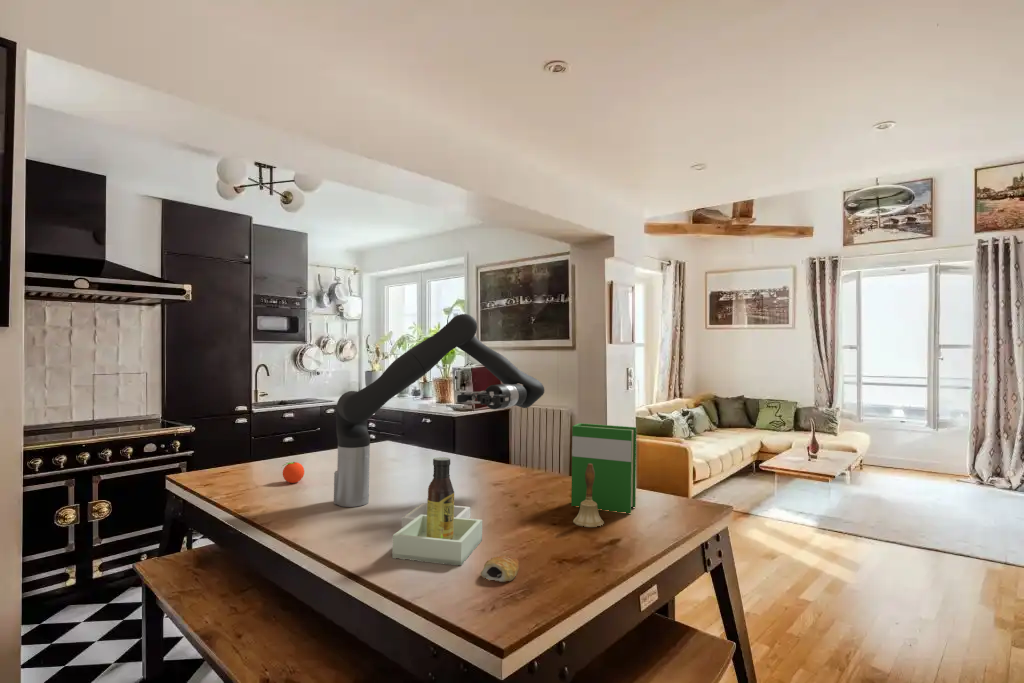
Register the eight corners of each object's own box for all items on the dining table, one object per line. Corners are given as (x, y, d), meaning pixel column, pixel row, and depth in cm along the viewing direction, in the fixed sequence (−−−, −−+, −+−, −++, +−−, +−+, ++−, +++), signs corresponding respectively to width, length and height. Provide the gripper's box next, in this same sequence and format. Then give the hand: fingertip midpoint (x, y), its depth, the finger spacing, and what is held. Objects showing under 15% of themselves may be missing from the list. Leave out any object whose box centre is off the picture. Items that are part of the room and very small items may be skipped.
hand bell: (585, 516, 153) (586, 459, 153) (610, 523, 147) (610, 464, 147) (566, 522, 147) (567, 463, 147) (591, 530, 141) (592, 468, 141)
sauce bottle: (448, 550, 122) (449, 462, 122) (422, 548, 123) (423, 460, 124) (457, 540, 128) (458, 456, 129) (432, 538, 130) (433, 455, 130)
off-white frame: (401, 529, 139) (401, 517, 139) (422, 513, 152) (422, 502, 152) (453, 534, 135) (453, 522, 136) (470, 517, 149) (470, 506, 149)
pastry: (498, 563, 118) (498, 546, 118) (526, 569, 116) (527, 551, 116) (478, 580, 110) (479, 561, 110) (509, 586, 107) (509, 567, 107)
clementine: (278, 486, 180) (278, 464, 180) (279, 481, 186) (279, 460, 186) (304, 484, 183) (304, 463, 183) (304, 479, 189) (304, 459, 189)
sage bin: (392, 558, 120) (392, 535, 120) (420, 534, 135) (420, 514, 135) (461, 565, 116) (461, 542, 116) (481, 540, 132) (482, 519, 132)
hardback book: (635, 507, 161) (636, 427, 162) (630, 514, 155) (631, 430, 155) (578, 500, 169) (579, 423, 169) (571, 506, 162) (572, 426, 162)
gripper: (483, 383, 173) (450, 385, 160) (520, 385, 165) (489, 388, 152) (483, 406, 173) (450, 410, 160) (520, 410, 165) (489, 414, 152)
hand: (469, 399), depth 156 cm, fingers open, 8 cm apart
